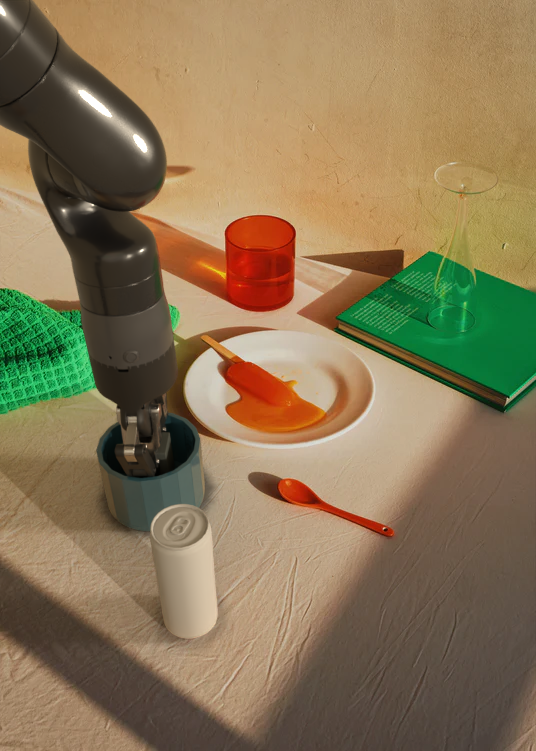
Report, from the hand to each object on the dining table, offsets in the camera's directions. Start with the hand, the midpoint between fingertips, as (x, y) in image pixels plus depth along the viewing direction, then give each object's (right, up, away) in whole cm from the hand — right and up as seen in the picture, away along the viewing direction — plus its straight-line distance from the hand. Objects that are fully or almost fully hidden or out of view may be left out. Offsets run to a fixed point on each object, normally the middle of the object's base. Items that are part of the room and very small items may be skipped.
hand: (154, 476), depth 75 cm
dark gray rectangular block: (0, 0, 0) cm, 0 cm away
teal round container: (0, -2, +2) cm, 3 cm away
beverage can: (+5, -11, -10) cm, 16 cm away
